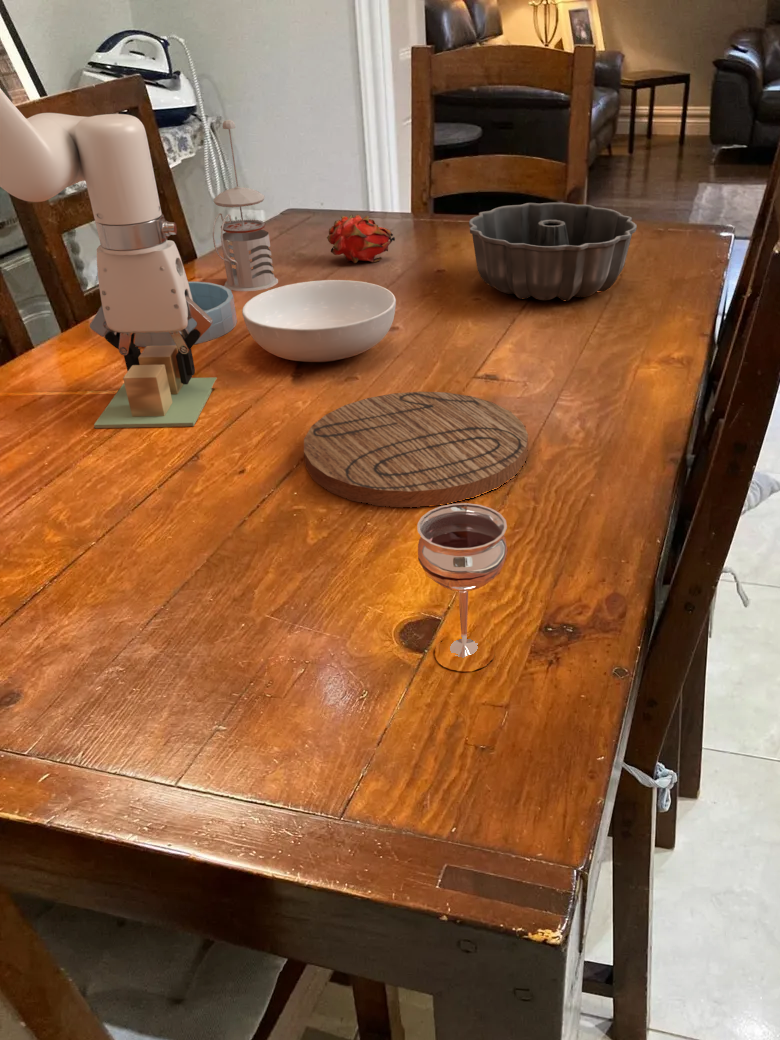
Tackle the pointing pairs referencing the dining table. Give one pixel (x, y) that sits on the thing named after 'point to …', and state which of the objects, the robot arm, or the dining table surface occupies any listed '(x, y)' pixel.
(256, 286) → the french press
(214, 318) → the pan
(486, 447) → the trivet
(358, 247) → the dragon fruit
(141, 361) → the block back
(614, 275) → the bundt pan
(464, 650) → the wineglass
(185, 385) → the mat
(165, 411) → the block front
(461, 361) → the dining table surface
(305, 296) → the serving bowl
